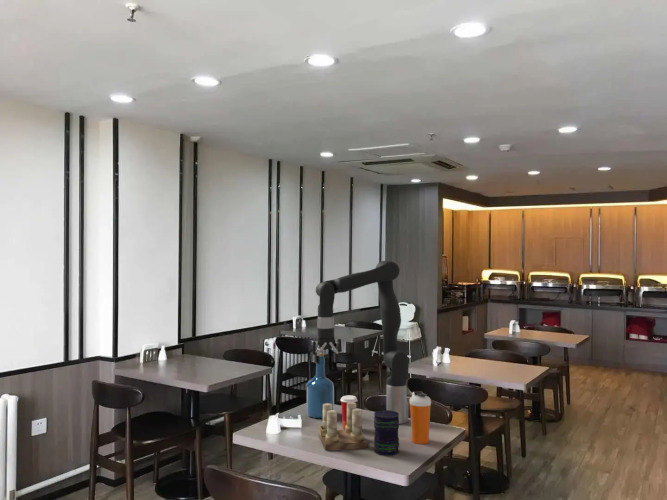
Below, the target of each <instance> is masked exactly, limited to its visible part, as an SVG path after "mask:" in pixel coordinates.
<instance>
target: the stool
mask: <svg viewBox="0 0 667 500" xmlns="http://www.w3.org/2000/svg"><path fill="white" fill-rule="evenodd" d="M318 439H319V441H320V443H321V445H322V447H323V449H324V450H325V451H326V452H327V451H339V450H340V451H341V450H343V451H344V450H354V449H367V448H368V441H367V440H366V439H365V437H364V432H363V410H362V408H357V409H356V403H354V402H349V403H347V425H346V426H345V430H344V429H338V411H337V410H335V409H334V410H329V411H327V429H325V430H323V424H320V425H318Z"/></svg>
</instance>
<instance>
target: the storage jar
mask: <svg viewBox="0 0 667 500" xmlns="http://www.w3.org/2000/svg"><path fill="white" fill-rule="evenodd" d="M380 406H384V404H383V403H380ZM373 414H374V417H373V427H374V437H373V441H374V442H373V446H374V450H373V451H374V454H376V455H378V456H382V457H383V456H385V457H393V456H396V455H398V454H399V452H400V451H399V448H400V447H399V446H400V438H399V428H400V424H399V413H397V412H395V411H390V410H387V409H385V410H384V409H383V410H377V411H375V412H374V413H373Z"/></svg>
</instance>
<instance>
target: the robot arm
mask: <svg viewBox="0 0 667 500" xmlns="http://www.w3.org/2000/svg"><path fill="white" fill-rule="evenodd" d="M399 275H400V267H399V265H398V264H397V263H396V262H394V261H392V260H382V261H378V263H377V264H376V266H375V268H372V269H369V270H365V271H361V272H355V273H352V274H347V275H344V276H339V277H338V278H335V279H329V280H324V281H322V282H319V283H318V284H317V285H316V288H315V293H316V295H317V296H318V297H319V304H318V306H317V325H316V327H317V340H311V342H310V354H311V355H313V356H314V362H315V365H316V364H320V359H319V354H320V353H322V352H323V351H326V350H331V351H332V352H333V355H332V356H333V360H332V361H333V362H334V363H337V362H338V360H339V354H340V353H341V352H342V351H343V349H342V348H343V347H342V339H341V338H335V319H334V304H335V296H336V294H342V293H343V294H344V293H346V292H349V291H352V290H356V289H359V288H363V287H365V286H369V285H372V284H376V283H377V286H378V287H377V288H378V295H379V308H380V320H381V326H382V327H381V328H382V329H381V330H382V336H383V337H382V341H383V343H382V344H383V345H382V346H383V348H382V349H383V350H382V351H383V363H384V365H385V367H387V368H388V369H390V370H391V372H390V376H388V377H387V378H386V410H390V411H395V412H397V413H399V425H402V424H405V423H408V422H409V401H408V400H407V381H408V379H409V364H410V363H409V356H408V354H407V352H405V351H402V350H399V347H398V346H399V345H398V334H399V331H400V327H401V324H402V316H401V315H402V314H401V307H400V304H399V301H398V299H397V296H396V293H395V289H394V282H393V281H394V280H396V279H397V278H398V276H399ZM335 344H336V346H335ZM317 345H318V346H317ZM316 346H317V348H316Z"/></svg>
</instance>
